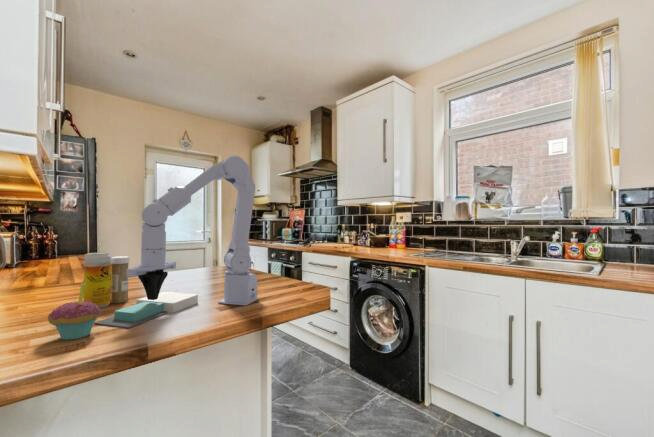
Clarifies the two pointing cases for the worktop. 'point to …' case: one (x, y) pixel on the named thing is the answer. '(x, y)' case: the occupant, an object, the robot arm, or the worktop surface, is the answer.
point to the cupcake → (75, 317)
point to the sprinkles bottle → (119, 279)
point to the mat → (128, 324)
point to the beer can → (97, 278)
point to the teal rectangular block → (138, 311)
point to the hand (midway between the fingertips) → (152, 299)
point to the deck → (173, 300)
